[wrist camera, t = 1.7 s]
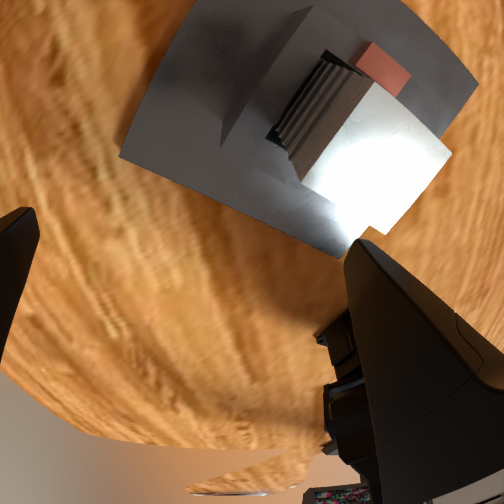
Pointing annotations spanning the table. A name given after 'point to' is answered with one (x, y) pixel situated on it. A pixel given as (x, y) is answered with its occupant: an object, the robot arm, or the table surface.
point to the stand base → (281, 100)
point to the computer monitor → (339, 489)
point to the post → (358, 145)
